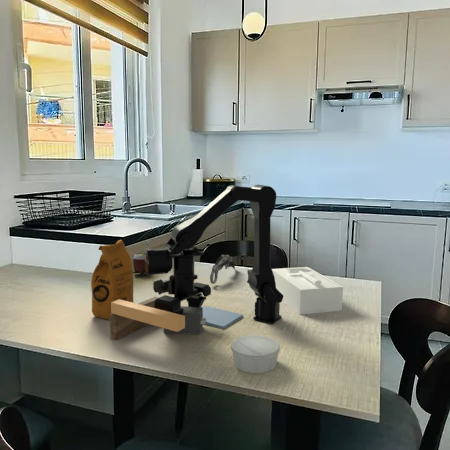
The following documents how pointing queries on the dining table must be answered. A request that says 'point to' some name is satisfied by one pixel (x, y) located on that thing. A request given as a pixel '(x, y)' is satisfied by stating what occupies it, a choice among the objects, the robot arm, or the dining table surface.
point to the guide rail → (127, 322)
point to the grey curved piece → (221, 266)
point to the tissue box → (308, 290)
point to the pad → (219, 317)
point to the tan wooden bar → (148, 315)
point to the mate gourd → (140, 261)
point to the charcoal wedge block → (191, 320)
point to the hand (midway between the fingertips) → (184, 326)
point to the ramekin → (255, 353)
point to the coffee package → (111, 279)
